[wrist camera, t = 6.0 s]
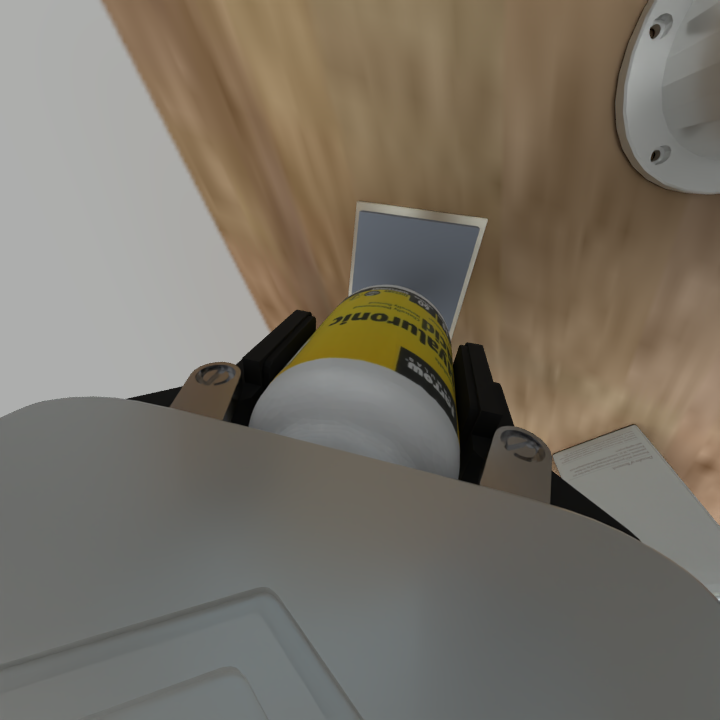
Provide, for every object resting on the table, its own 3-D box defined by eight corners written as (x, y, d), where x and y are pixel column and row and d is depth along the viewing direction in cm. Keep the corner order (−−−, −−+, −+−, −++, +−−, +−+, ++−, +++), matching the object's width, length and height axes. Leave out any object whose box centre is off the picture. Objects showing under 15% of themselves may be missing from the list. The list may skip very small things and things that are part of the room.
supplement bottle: (477, 318, 12) (569, 618, 4) (411, 407, 15) (379, 685, 7) (356, 255, 12) (164, 423, 3) (314, 358, 15) (155, 581, 6)
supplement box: (549, 453, 29) (614, 608, 18) (636, 421, 25) (779, 591, 15) (586, 497, 31) (666, 662, 20) (673, 473, 27) (826, 658, 17)
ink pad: (477, 226, 20) (479, 228, 19) (447, 331, 24) (447, 338, 23) (363, 210, 21) (359, 211, 20) (352, 314, 25) (349, 319, 24)
